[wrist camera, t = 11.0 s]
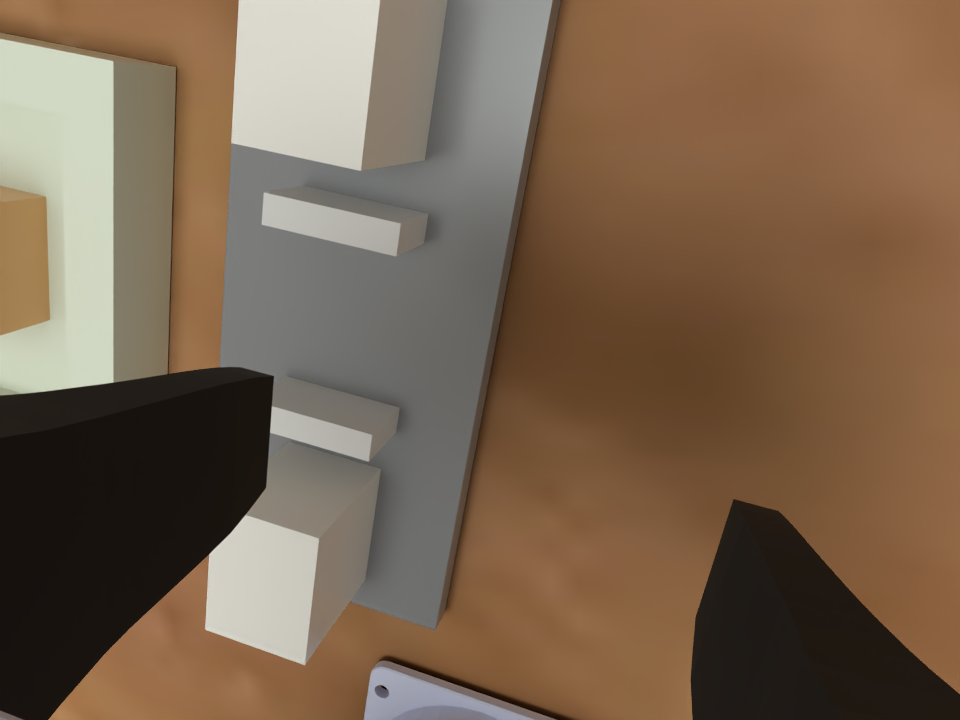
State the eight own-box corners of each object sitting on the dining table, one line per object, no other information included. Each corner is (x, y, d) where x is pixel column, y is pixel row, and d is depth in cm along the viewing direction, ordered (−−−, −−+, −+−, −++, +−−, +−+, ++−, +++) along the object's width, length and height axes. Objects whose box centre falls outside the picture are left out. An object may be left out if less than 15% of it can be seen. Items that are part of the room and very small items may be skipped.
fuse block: (444, 610, 24) (387, 725, 20) (226, 539, 26) (126, 629, 21) (567, -36, 18) (524, -88, 13) (265, -81, 19) (132, -142, 15)
